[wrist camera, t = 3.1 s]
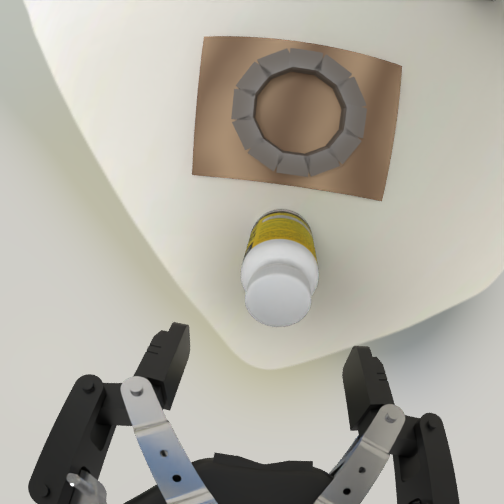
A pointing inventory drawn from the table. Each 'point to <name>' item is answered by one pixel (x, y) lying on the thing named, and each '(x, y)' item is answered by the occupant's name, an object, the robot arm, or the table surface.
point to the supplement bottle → (279, 269)
